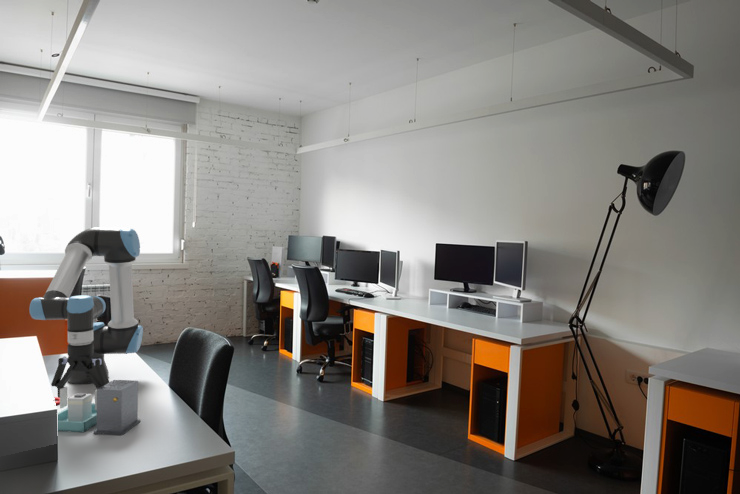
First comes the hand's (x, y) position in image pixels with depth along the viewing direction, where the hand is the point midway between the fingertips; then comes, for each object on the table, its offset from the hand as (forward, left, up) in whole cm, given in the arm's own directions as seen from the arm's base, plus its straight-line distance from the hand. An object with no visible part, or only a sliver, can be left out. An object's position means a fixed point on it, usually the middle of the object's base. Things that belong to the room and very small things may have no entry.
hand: (80, 407), depth 171 cm
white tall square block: (+1, 0, -4) cm, 4 cm away
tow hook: (-15, -21, -5) cm, 26 cm away
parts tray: (0, 0, -4) cm, 4 cm away
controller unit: (+4, +15, -4) cm, 16 cm away
